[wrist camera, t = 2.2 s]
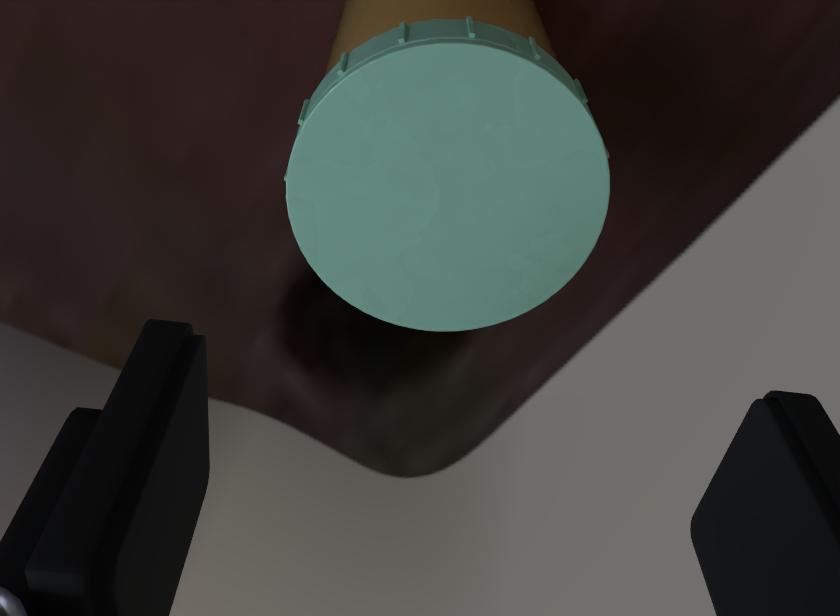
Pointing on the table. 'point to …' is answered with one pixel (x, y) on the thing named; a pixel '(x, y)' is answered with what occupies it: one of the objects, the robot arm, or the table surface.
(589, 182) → the lid
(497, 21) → the jam jar
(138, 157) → the table surface
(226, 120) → the table surface
